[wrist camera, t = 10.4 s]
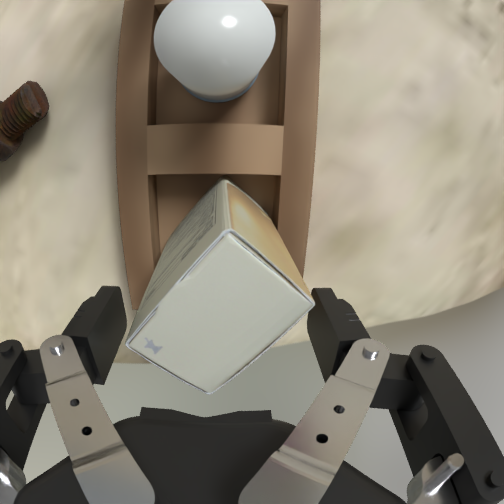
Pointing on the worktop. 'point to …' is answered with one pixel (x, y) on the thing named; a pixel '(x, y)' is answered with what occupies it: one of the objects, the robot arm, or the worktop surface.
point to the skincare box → (219, 292)
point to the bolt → (20, 116)
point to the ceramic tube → (215, 45)
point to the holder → (214, 136)
